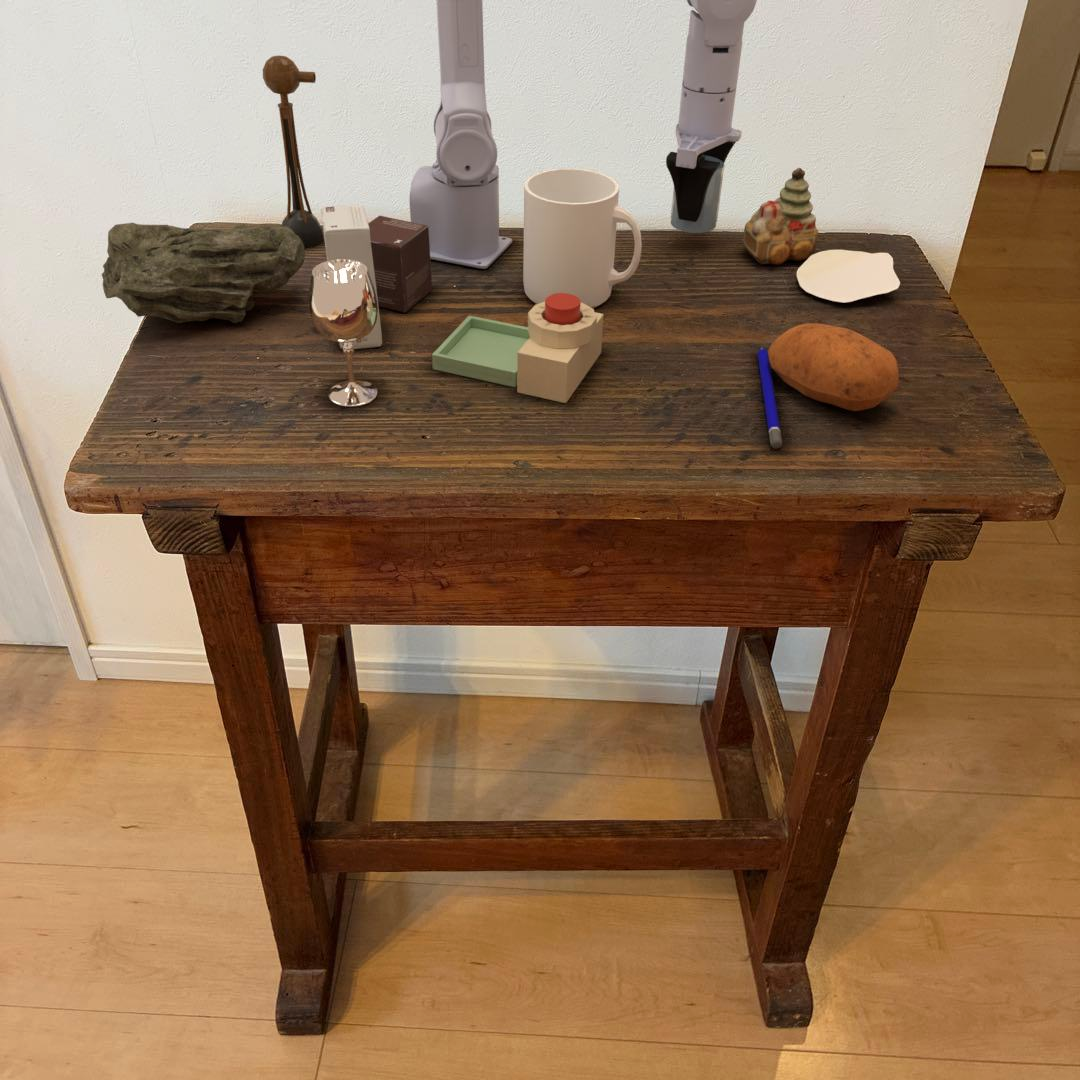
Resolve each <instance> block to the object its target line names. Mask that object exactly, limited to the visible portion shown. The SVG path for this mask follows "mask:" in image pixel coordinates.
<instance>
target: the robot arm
mask: <svg viewBox="0 0 1080 1080" xmlns="http://www.w3.org/2000/svg"><path fill="white" fill-rule="evenodd" d="M435 2H436V17H437V18H436V19H437V36H438V51H439V52H438V56H439V76H440V77H439V78H440V82H439V83H440V102H439V107H438V108H437V111H436V113H435V115H434V118H433V119H434V120H433V133H434V136H435V140H436V141H435V142H436V151H435V152H436V154H435V155H436V160H435V162H434V163H433V164H432V166H430V165H423V166H420V167H419V168H418V169H417V170H416V171H415V173H414V174H413V177H412V180H411V184H410V188H409V214H410V215H409V216H410V218H409V219H410V222H413V223H417V224H423V225H428V229H429V244H430V260H433V261H439V262H444V263H449V264H455V265H459V266H465V267H469V268H475V269H481V270H486V269H488V268H489V267H490V266H491V265H492V264H493V263H494V262H495V261H496V260H497V259H498V258H499V257H500V256H501V255H502V253H504V252H505V251H506V250H507V249H508V248H509V247H510V246H511V245H512V244H513V239H512V238H510V237H506V236H501V235H500V180H499V179H500V171H499V170H500V167H499V166H498V165H497V161H498V147H497V144H496V141H495V139H494V136H493V131H492V120H491V117H490V113H489V112H488V108H487V97H486V96H487V95H486V83H485V78H486V77H485V52H484V51H485V49H484V48H485V46H484V43H485V42H484V11H483V10H484V9H483V0H436V1H435ZM686 2H687V4H688V6H689V7H691V8H693V9H691V10H690V14H689V15H690V16H689V23H688V33H687V37H686V43H685V53H684V62H683V73H682V81H681V83H682V84H681V91H680V92H681V93H680V101H679V112H678V121H677V124H676V125H675V137H676V142H677V146H678V147H677V148H676V152H675V151H669V153H668V154H667V156H666V159H665V167H666V168H667V170H668V172H669V174H670V177H671V180H672V184H673V189H674V188H675V194H676V203H677V211H678V217H679V219H681V220H686V221H692V222H696V221H697V220H698V218H699V216H700V213H701V210H702V207H703V203H704V199H705V195H706V191H707V188H708V186H709V183H710V181H711V178H712V176H713V174H714V172H715V171H716V169H717V168H718V166H719V165H720V162H714V161H708V160H705V157H703V155H706V156H712V157H715V158H718V159H719V160H721V161H723V163H724V164H725V162H726V160H727V158H728V157H729V155H730V153H731V151H732V149H733V147H734V146H735V144H736V143H737V142H739V141H740V139H741V138H742V133H743V131H742V130H740V129H735V128H733V127H732V124H733V116H734V111H735V110H734V109H735V101H736V96H737V95H736V94H737V88H738V87H737V86H738V80H739V71H740V66H741V65H740V64H741V56H742V49H743V35H744V27H745V22H746V21H747V20H748V19H749V18H750V16H751V15H752V14H753V12H754V10H755V8H756V5H757V2H758V1H757V0H686Z"/></svg>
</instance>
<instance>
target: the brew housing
mask: <svg viewBox="0 0 1080 1080" xmlns="http://www.w3.org/2000/svg"><path fill="white" fill-rule="evenodd" d="M604 317H605V315H604V313H600V312H595V308H591V307H589V306H587V305H585V304H584V303H582V302H581V303H580V320H579V322H577V323H574V324H571V325H558V324H553V323H549V322H548V321H546V320H545V302H542V303H539V304H536V303H535V304H534V305H533V307H531V309H530V310H529V311H528V313H527V327H528V332H529V335H530V338H529V339H528V340H527V341H526V343H525V344H524V345H523V346H522V348H521V349H520V350H519V351H518V352H517V386H516V393H518V394H522V395H526V396H532V397H536V398H541V399H546V400H549V401H554V402H557V403H563V404H567V403H568V401H569V400H570V398H571V397H572V395H573V394H574V393H575V391H576V390H577V389H578V387H579V385H580V384H581V383H582V381H583V380H584V378H585V377H586V375H587V374H588V372H589V371H591V368H592V367H593V366H594V364H595V362H596V361H597V360H598V358H599V357H600V356H601V354H602V348H603V347H602V345H603V332H604V331H603V330H604Z"/></svg>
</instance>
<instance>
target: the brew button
mask: <svg viewBox="0 0 1080 1080" xmlns="http://www.w3.org/2000/svg"><path fill="white" fill-rule="evenodd" d="M580 303H581V301H580V299H579V298H578V297H576V296H574V295H572V294H567V293H557V294H553V295H550V296H548V297H547V298H546V300H545V320H546V321H548V322H549V323H553V324H558V325H571V324H574V323H577V322H579V320H580Z"/></svg>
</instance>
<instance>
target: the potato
mask: <svg viewBox="0 0 1080 1080" xmlns="http://www.w3.org/2000/svg"><path fill="white" fill-rule="evenodd" d="M767 352H768V357H769V363H770V368H771V369H772V370H773V371H774V372H775V374H776V375H777V376H778V377H779V379H781V380H782V381H783V382H784V383H785V384H787V385H788V386H790V387H792V388H794V389H795V390H796V391H798V392H800V394H802V395H804V396H805V397H807V398H809V399H812V400H814V401H818V402H821V403H825V404H829V405H832V406H835V407H839V408H841V409H843V410H846V411H851V412H859V411H864V410H868V409H873V408H875V407H877V406H878V405H880V404H881V403H883V402H884V401H885V400H887V399H888V398H889V397H890V396H891V395H892V394H893V393H894V392H895V390H897V388H898V387H899V386H900V385H899V378H900V377H899V375H900V374H899V365H898V360H897V359H896V357H895V356H894V354H893V352H892V351H890V350H889V349H887V348H885V347H884V346H882V345H880V344H878V343H877V342H875V341H873V340H872V339H870V338H868V337H866V336H864V335H862V334H861V333H858V332H856V331H854V330H852V329H849V328H846V327H840V326H836V325H830V324H825V323H802V324H798V325H795V326H793V327H791V328H789V329H786V331H785V332H783V333H782V334H780V335H779V336H778V337H777V338H776V339H775V340H773V341H772V343H771V344H770V347H768V350H767Z"/></svg>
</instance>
